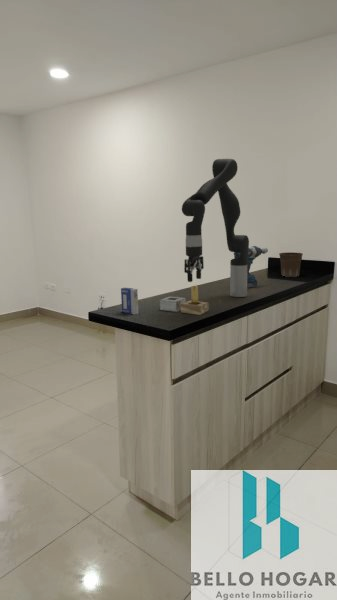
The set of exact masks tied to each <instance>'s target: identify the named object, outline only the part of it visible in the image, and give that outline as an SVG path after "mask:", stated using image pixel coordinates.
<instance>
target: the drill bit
mask: <svg viewBox="0 0 337 600" xmlns="http://www.w3.org/2000/svg"><path fill="white" fill-rule="evenodd" d="M190 287H191V288H190V289H191V291H190V292H191V295H190V296H191V298H190V299H191V300H190V301H191V304H195V305H197V304H198V301H199V286H198V285H191V286H190Z"/></svg>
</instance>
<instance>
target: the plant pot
mask: <svg viewBox="0 0 337 600" xmlns="http://www.w3.org/2000/svg"><path fill="white" fill-rule="evenodd" d="M278 255H279V259H280V272H281V273H280V274H281V275H282V276H281V277H283V276H285V277H284V278H290V277H291V278H297V276H298V277H300V271H301V263H302V257H303V253H302V252H279V253H278Z"/></svg>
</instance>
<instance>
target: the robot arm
mask: <svg viewBox="0 0 337 600" xmlns="http://www.w3.org/2000/svg"><path fill="white" fill-rule="evenodd" d="M211 169H212V175H213V178H211V179H209V180H208V181H206V182H204V183H203V184H202V185H201V186H200V187H199V189H198V190H197V191H196V192H195V193H194V194H192V195H191V196H190V197H187V199H185V200H184V202H183V203H182V206H181V212H182V214H183V215H184V216H185V217H192V221H188V222H187V223H186V225H185V255H186V256H187V257H188V259H187V258H185V259H184V269H183V271H184V273H186V274H187V282H189V283H192V282H193V272H194V270H195V271H196V272H195V277H196V280H197V279H198V280H199V279H200V280H201V279H202V271H203V270H204V256H203V237H202V225H203V221H204V216H205V213H206V212H205V211H206V206H205V205H207V204H208V203H209V202H210V200H212V198H213V197H214V196H215V194H217V193H218V198H219V201H220V203H219V204H220V209H221V213H222V217H223V221H224V228H225V235H226V243H227V244H226V245H227V250H228V251H229V252H230V253H231V252H232V253H234V252H240V256H239V257H237V258H232V259H230V261H229V262H230V264H229V265H230V271H229V275H230V276H229V277H230V278H229V281H230V282H229V283H230V284H229V285H230V287H229V293H230V294H229V295H230V297H235V298H242V297H247V296H248V288H247V263H248V250H249V247H250V240H249V239H250V238H249V237H248V236H247V235H246V234H235V228H236V227H235V226H236V225H237V222H238V220H239V218H240V216H241V207H240V206H241V205H240V201H239V198H238V197H237V195H236V194H235V193H234V191H232V189H231V188H230V186H229V185H228V183H229V182H230V181H231V180H233V178H235V177H236V175H237V172H238V163H237V161H236V160H235V159H234V158H218V159H214V160H213V162H212V166H211Z"/></svg>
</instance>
